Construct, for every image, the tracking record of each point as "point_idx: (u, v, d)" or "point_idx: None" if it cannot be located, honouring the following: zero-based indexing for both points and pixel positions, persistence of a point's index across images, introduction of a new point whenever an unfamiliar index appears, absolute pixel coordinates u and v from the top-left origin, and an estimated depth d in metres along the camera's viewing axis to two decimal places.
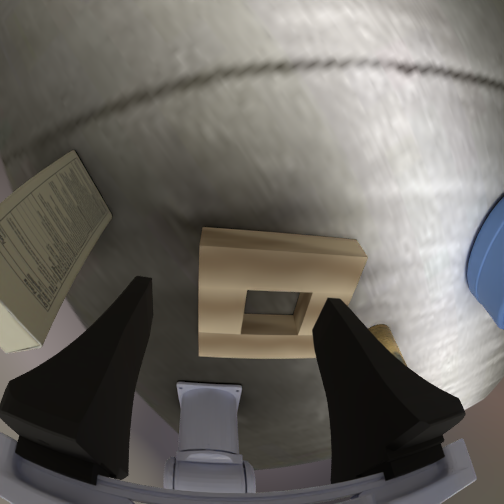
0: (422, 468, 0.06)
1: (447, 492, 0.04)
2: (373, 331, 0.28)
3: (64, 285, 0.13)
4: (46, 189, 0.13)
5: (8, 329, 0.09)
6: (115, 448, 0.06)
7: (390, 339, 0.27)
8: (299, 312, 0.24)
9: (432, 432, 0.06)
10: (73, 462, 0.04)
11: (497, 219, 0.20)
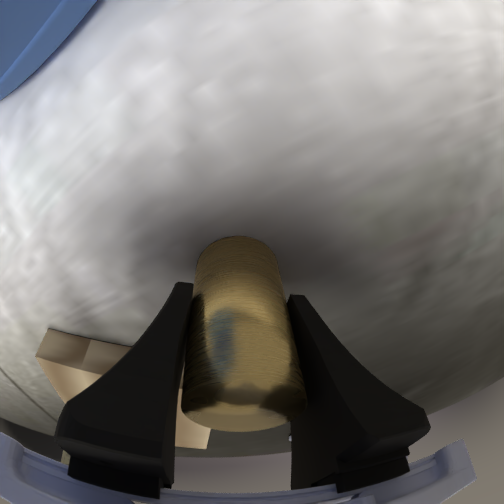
0: (383, 482, 0.05)
1: (447, 492, 0.04)
2: None
3: None
4: (66, 458, 0.21)
5: None
6: (171, 458, 0.06)
7: (193, 292, 0.11)
8: None
9: (389, 445, 0.05)
10: (136, 479, 0.05)
11: None
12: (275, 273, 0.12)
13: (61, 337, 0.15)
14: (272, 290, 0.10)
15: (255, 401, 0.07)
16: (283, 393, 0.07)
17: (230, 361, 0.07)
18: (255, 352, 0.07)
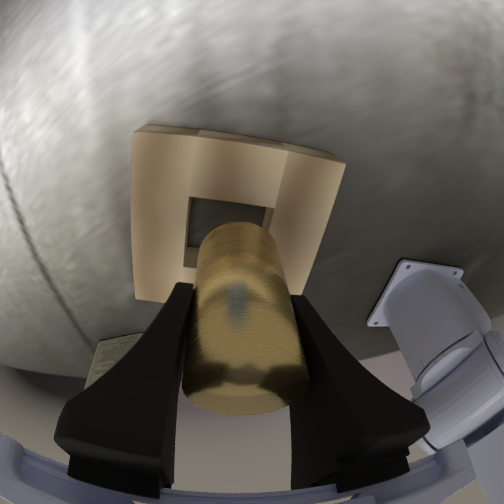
0: (383, 482, 0.05)
1: (447, 492, 0.04)
2: None
3: None
4: (94, 377, 0.22)
5: None
6: (170, 458, 0.06)
7: (197, 271, 0.11)
8: None
9: (389, 445, 0.05)
10: (136, 479, 0.05)
11: None
12: (279, 260, 0.12)
13: (164, 127, 0.15)
14: (278, 274, 0.10)
15: (260, 380, 0.08)
16: (289, 372, 0.07)
17: (241, 334, 0.07)
18: (265, 328, 0.08)
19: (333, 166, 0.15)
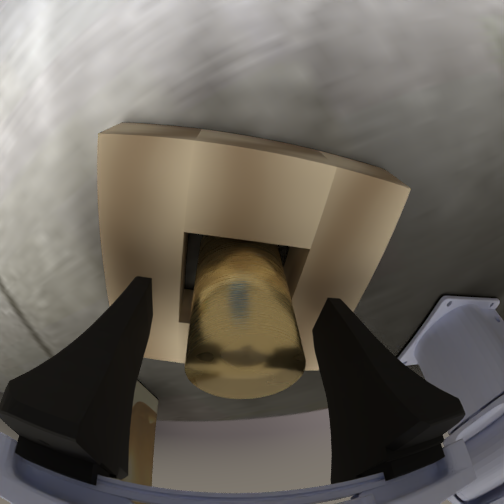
0: (422, 468, 0.06)
1: (447, 492, 0.04)
2: None
3: None
4: None
5: None
6: (115, 448, 0.06)
7: (199, 262, 0.12)
8: None
9: (432, 432, 0.06)
10: (73, 462, 0.04)
11: None
12: (277, 251, 0.12)
13: (147, 125, 0.10)
14: (276, 264, 0.11)
15: (259, 361, 0.08)
16: (286, 353, 0.08)
17: (240, 317, 0.08)
18: (263, 311, 0.08)
19: (395, 191, 0.10)
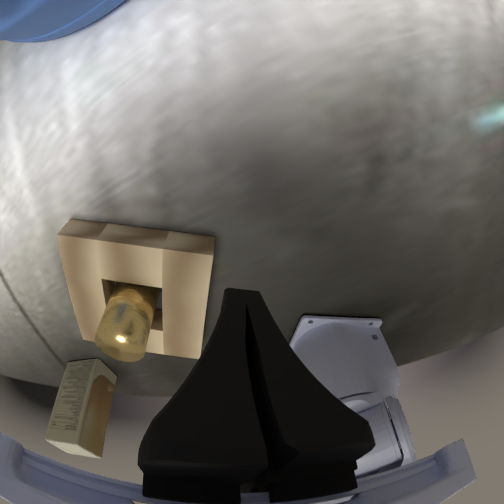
0: (326, 496, 0.05)
1: (447, 492, 0.04)
2: None
3: (80, 415, 0.23)
4: (62, 391, 0.26)
5: (75, 448, 0.20)
6: None
7: None
8: None
9: (323, 459, 0.05)
10: (217, 488, 0.05)
11: None
12: (150, 287, 0.22)
13: (81, 223, 0.19)
14: (143, 295, 0.20)
15: (121, 341, 0.17)
16: (131, 339, 0.17)
17: (112, 321, 0.17)
18: (122, 319, 0.18)
19: (202, 257, 0.20)
